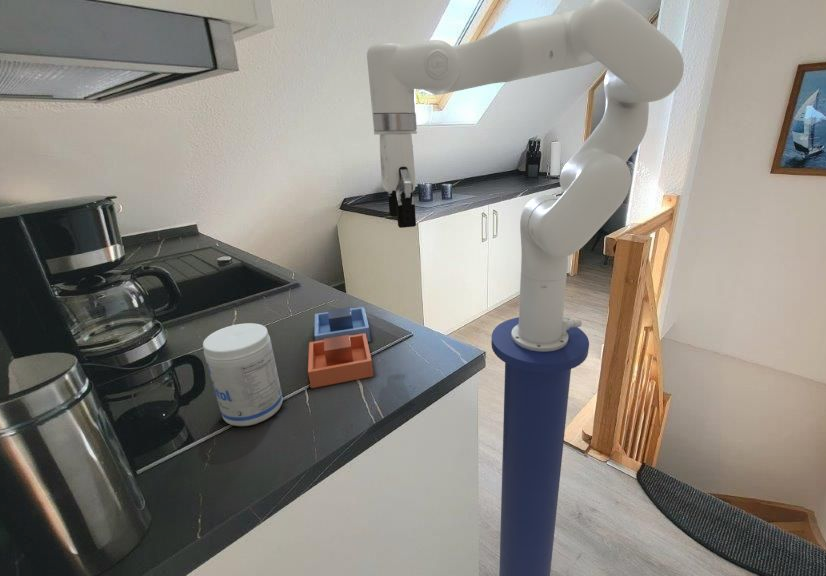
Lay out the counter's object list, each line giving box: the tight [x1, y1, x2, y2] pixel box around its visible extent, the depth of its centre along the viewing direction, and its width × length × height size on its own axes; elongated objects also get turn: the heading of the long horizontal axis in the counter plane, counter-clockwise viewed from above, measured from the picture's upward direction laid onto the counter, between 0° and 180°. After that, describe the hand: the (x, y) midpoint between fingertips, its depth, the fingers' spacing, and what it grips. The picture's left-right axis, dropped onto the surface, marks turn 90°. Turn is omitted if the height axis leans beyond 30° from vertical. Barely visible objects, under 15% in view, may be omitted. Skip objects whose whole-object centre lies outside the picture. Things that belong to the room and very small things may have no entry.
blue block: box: [327, 306, 353, 332], centre depth 94 cm, size 5×5×5 cm
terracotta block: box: [324, 335, 353, 367], centre depth 81 cm, size 5×5×5 cm
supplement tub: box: [202, 322, 284, 427], centre depth 67 cm, size 10×10×15 cm
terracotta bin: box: [307, 333, 374, 389], centre depth 82 cm, size 12×12×4 cm
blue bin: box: [313, 306, 371, 343], centre depth 94 cm, size 12×12×4 cm
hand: (402, 221), depth 78 cm, fingers open, 9 cm apart
